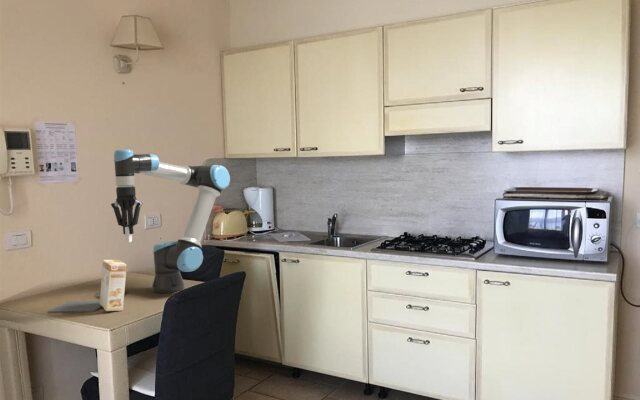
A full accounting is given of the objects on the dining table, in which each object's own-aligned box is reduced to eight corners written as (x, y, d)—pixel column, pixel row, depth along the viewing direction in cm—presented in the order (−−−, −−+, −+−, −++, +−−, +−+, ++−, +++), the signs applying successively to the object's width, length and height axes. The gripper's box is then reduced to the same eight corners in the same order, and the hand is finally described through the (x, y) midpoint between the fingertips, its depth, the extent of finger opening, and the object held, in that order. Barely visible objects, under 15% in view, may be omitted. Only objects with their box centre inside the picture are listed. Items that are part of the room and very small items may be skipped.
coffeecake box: (123, 310, 218) (127, 264, 218) (105, 311, 214) (109, 264, 214) (115, 303, 230) (119, 259, 230) (98, 303, 226) (102, 259, 226)
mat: (110, 301, 232) (110, 300, 232) (94, 311, 217) (93, 310, 217) (67, 302, 233) (67, 301, 233) (48, 312, 219) (48, 311, 218)
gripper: (144, 185, 221) (147, 240, 222) (115, 186, 222) (118, 240, 223) (136, 186, 213) (139, 243, 215) (106, 187, 214) (109, 243, 216)
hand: (129, 241), depth 219 cm, fingers closed
